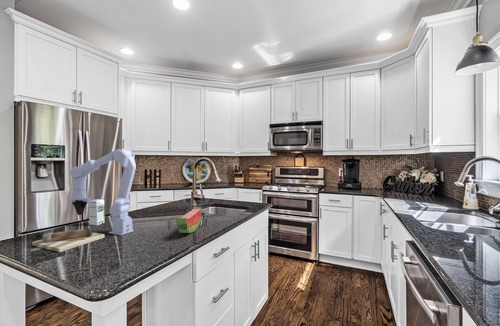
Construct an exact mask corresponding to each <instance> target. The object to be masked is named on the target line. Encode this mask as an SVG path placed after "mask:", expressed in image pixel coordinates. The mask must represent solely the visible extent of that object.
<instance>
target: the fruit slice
mask: <svg viewBox="0 0 500 326" xmlns="http://www.w3.org/2000/svg"><path fill="white" fill-rule="evenodd" d="M201 219H202V207H192V209H191V210H189V212H186V213H185V214H184V215H182V216H181V217H176V227H177V231H178V233H180V234H191V233H194V232H195V231H196V230H197V229H198V227H199V226H200V224H201Z"/></svg>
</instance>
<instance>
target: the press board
mask: <svg viewBox="0 0 500 326" xmlns="http://www.w3.org/2000/svg"><path fill="white" fill-rule="evenodd" d="M104 238H105V234H103V233H98V232H95V231H92V235H91V236H85V237H78V238H70V239H62V240H55V241H49V242H43V238H42V239H39V240H36V241H32V246H34V247H37V248H42V249H46V250H49V251H53V252H57V253H62V252H64V251H68V250H70V249H73V248H77V247H80V246H83V245H85V244H89V243H92V242H95V241H97V240H100V239H101V240H102V239H104Z"/></svg>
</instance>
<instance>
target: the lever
mask: <svg viewBox="0 0 500 326" xmlns="http://www.w3.org/2000/svg"><path fill="white" fill-rule="evenodd" d="M92 232H93V228H92V227H88V228H84V229H83V228H82V229H81V228H80V229H74V230H66V231H57V232H52V231H51V232H45V233H43V234H42V239H43V242H49V241H55V240H62V239H70V238H78V237H85V236H91V235H92Z"/></svg>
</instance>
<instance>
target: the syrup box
mask: <svg viewBox="0 0 500 326" xmlns="http://www.w3.org/2000/svg"><path fill="white" fill-rule="evenodd" d="M105 217H106V214H105V199H102V198H101V199H100V198H97V199H93V200H92V199H91V202H88V218H89V220H88V221H89V222H88V224H89V226H100V225H102V223H103V224H105V223H106V218H105Z"/></svg>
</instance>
